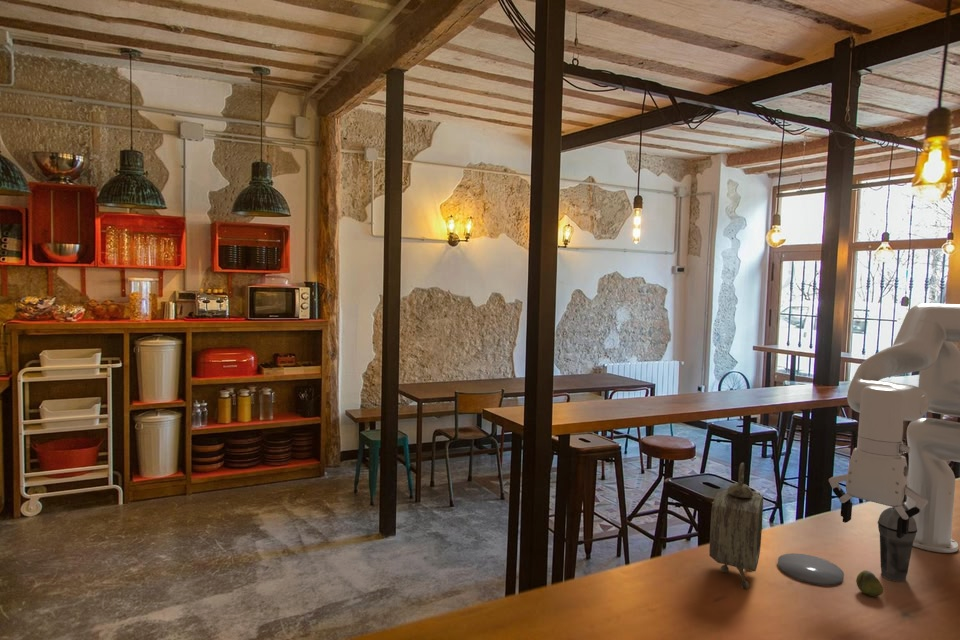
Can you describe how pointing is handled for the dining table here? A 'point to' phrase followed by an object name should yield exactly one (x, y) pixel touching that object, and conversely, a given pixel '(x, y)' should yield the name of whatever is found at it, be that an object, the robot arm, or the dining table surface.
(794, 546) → the dining table surface
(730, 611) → the dining table surface
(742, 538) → the tabletop clock
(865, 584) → the lime
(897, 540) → the beverage cup
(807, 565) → the slate plate
